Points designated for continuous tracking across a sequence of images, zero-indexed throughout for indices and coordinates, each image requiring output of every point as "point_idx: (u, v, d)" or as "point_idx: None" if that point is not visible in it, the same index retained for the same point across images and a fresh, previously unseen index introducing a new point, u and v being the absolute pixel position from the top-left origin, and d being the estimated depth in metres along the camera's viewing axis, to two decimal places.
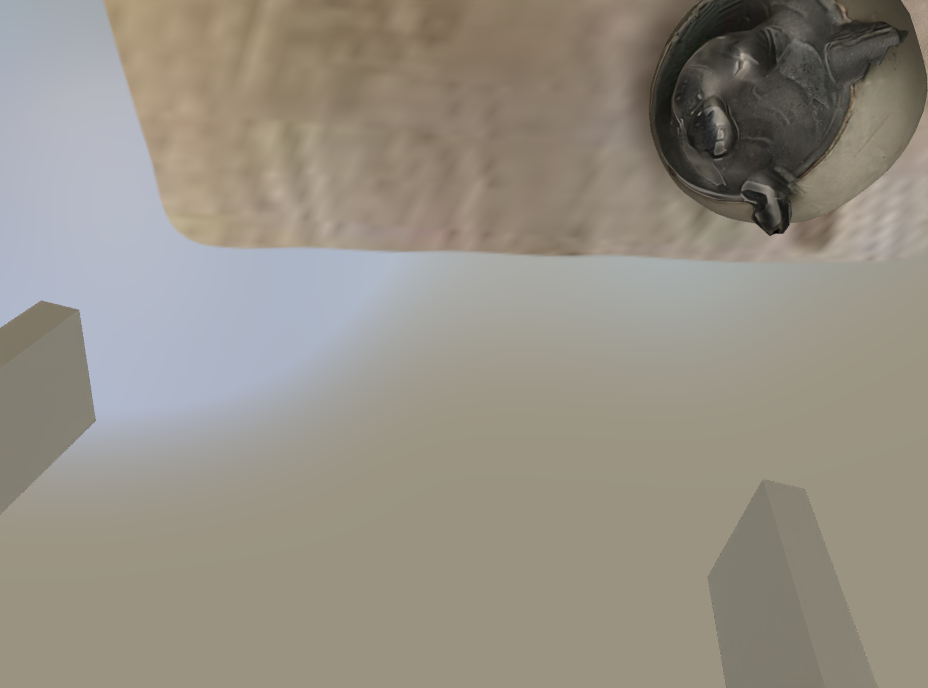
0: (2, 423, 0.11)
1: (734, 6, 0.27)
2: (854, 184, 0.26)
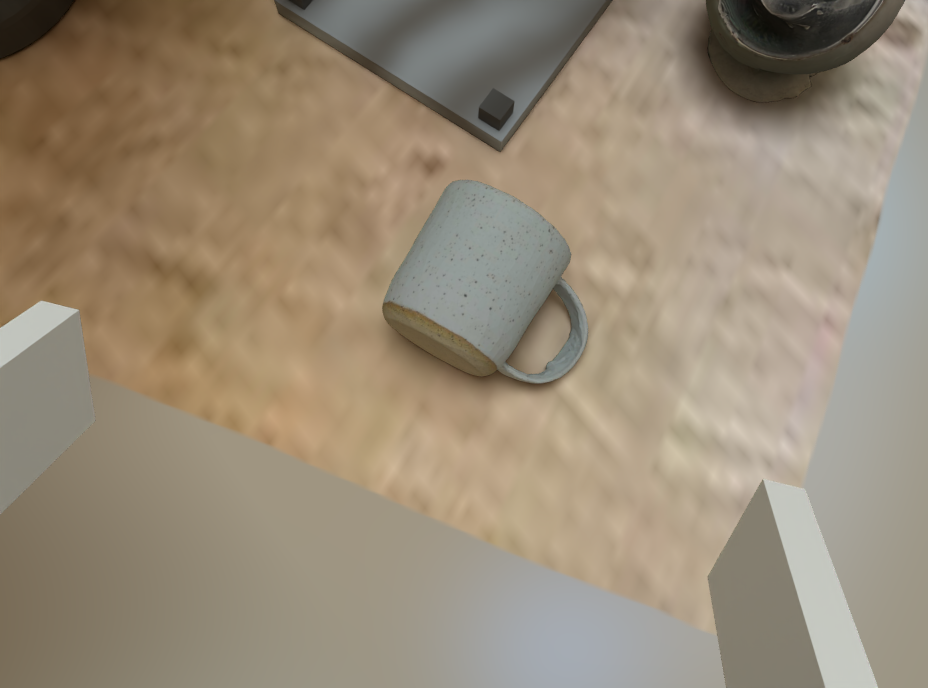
0: (2, 423, 0.11)
1: None
2: None
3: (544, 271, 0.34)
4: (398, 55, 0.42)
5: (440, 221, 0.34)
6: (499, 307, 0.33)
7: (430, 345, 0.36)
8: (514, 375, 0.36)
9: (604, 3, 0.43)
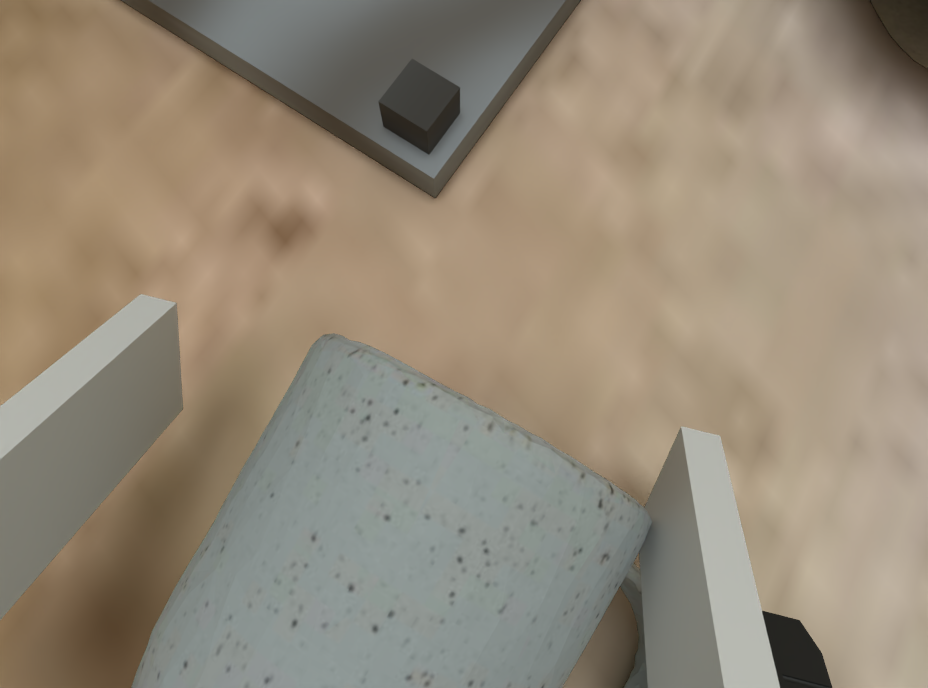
0: (115, 408, 0.12)
1: None
2: None
3: (585, 612, 0.11)
4: None
5: (274, 473, 0.11)
6: None
7: None
8: None
9: None
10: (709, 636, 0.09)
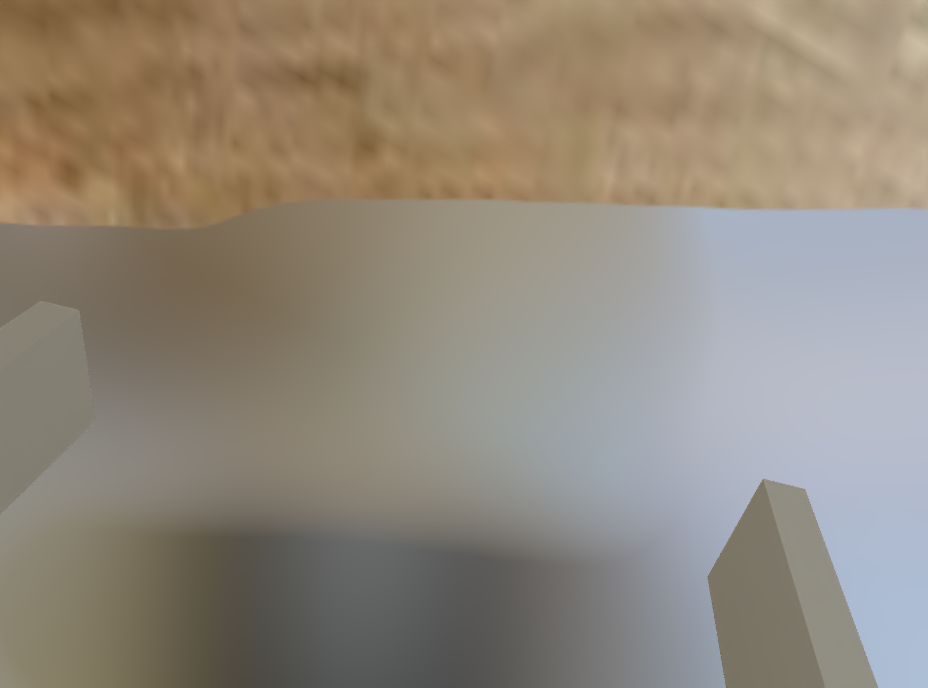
0: (2, 423, 0.11)
1: None
2: None
3: None
4: None
5: None
6: None
7: None
8: None
9: None
10: None
